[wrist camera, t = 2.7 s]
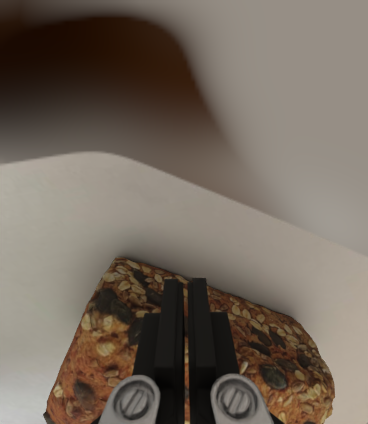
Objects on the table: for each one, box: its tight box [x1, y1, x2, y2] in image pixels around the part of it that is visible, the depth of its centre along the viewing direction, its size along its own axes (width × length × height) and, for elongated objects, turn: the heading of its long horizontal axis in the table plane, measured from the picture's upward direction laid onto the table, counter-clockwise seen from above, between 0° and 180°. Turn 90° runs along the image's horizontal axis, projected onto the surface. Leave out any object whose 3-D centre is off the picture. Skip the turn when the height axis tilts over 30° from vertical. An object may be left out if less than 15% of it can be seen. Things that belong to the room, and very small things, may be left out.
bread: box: [43, 258, 335, 424], centre depth 21 cm, size 19×11×10 cm, turn 66°
